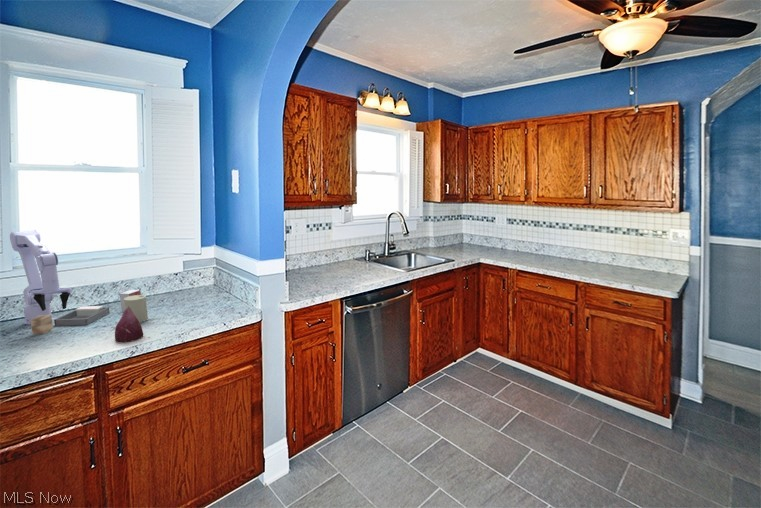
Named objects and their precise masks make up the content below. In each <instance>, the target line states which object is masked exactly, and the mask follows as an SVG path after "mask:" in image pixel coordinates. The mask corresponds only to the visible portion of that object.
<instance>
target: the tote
mask: <svg viewBox="0 0 761 508" xmlns="http://www.w3.org/2000/svg"><path fill="white" fill-rule="evenodd" d="M103 307H104V308H103V310H101V311H99V312H98V313H96V314H94V315H92V316H90V317H77V312H76V310H75V309H74V310H72V311H70V312H68V313H65V314H64V315H61V316H60V317H56V319H54V320H53V321H54V323H53V324H54V327H67V326H69V327H70V326H71V327H73V326H88V325H90V324H92V323H94V322H96V321H97V320H99V319H101V318H102V317H105V316H107V315H108V314H110V307H109V306H103Z"/></svg>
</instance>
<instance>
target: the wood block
mask: <svg viewBox="0 0 761 508" xmlns="http://www.w3.org/2000/svg"><path fill="white" fill-rule="evenodd" d="M52 318H53V316H52V317H51V315H40V316H37V317H35V318H33V319H31V320H30V321H31V324H30V327H31V332H32V335H33V334H41V335H45V334H47V333H50V332H51V331H52V329H54V323H53V320H52Z"/></svg>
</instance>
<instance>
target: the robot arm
mask: <svg viewBox="0 0 761 508" xmlns="http://www.w3.org/2000/svg"><path fill="white" fill-rule="evenodd" d="M9 240H10V244H11V247H12V249H13V251H14V252H16V253H17V252H18V254H19V256H20V258H21V262H22V265H23V269H24V272H25V277H26V280H27V282H28V286H26V287H25V288H24V289H23V291H22V294H23V300H24V303H25V304H26V305H25V306H24V309H23V315H24V321H25V322H24V325H25V324H26V325H31V321H30V320H31V319H33V318H35V317H37V316H40V315H51V317H52V321H54V320H55V319H57V317H53V314H52V309H51V304H52V301H54V295H55V294H59V298H60V300H61V307H62V310H65V309H67V304H68V299H69V297H70V295H71V293H73V288H72V287H60V283H59V282H60V281H59V273H58V269H57V268H58V267H57V265H58V264H59V258H58V255H57V253H56V252H53V251H50V249H48V247H47V246H45V245H43V244H41V243H40V242H41V235H40V232H39V231H38V230H37V229H34V230H24V231H12V232H10V233H9Z"/></svg>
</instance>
